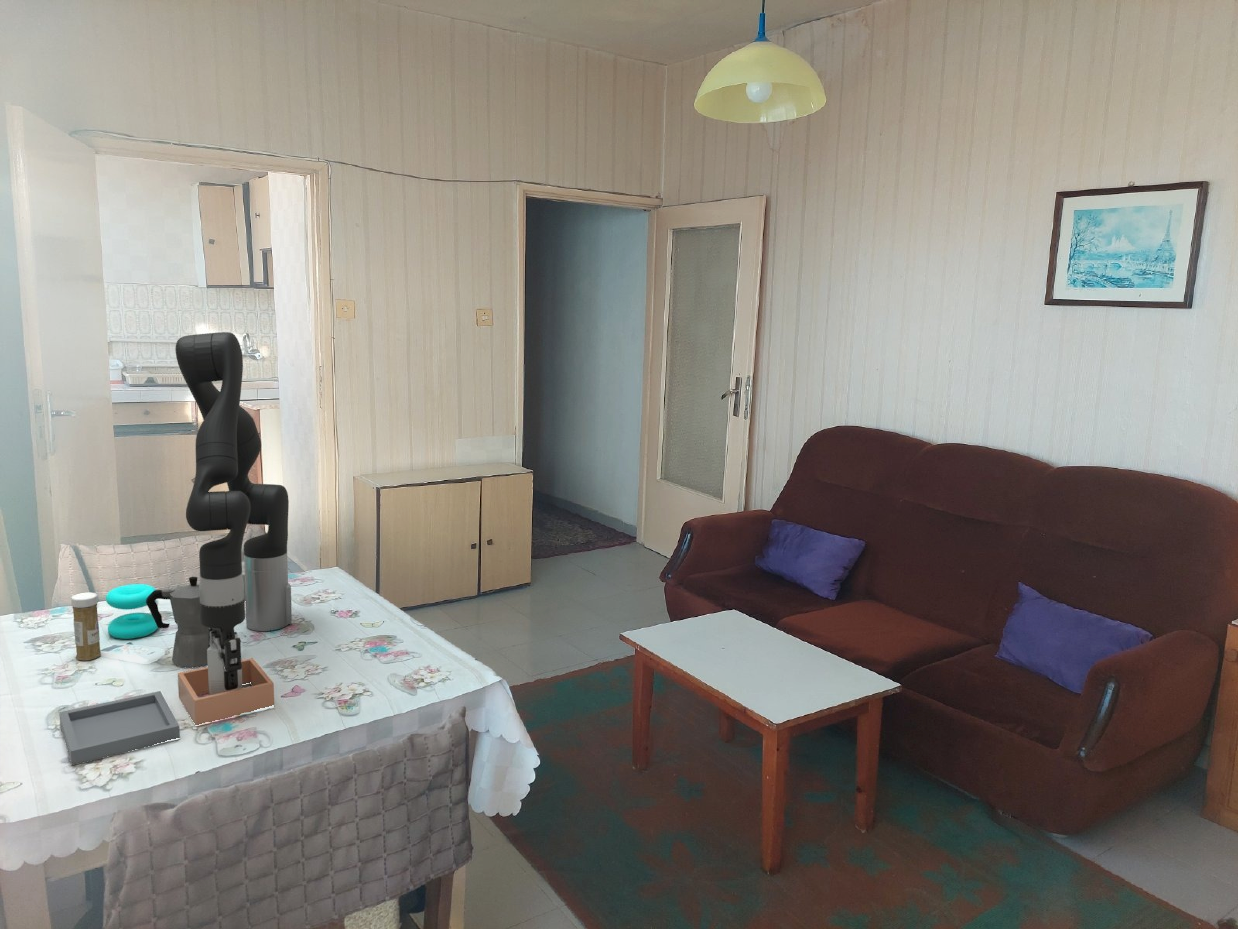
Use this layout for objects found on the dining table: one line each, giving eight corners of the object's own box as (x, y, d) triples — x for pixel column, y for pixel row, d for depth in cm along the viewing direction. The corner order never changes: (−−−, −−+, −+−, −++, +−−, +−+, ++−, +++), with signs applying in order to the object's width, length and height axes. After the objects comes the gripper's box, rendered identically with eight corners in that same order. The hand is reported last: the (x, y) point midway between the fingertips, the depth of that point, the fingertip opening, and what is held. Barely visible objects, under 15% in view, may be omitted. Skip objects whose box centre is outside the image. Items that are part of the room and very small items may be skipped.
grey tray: (160, 703, 164) (160, 691, 164) (180, 739, 152) (179, 726, 152) (60, 725, 155) (59, 712, 154) (71, 765, 142) (70, 751, 142)
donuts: (132, 579, 201) (167, 586, 198) (135, 621, 203) (169, 628, 200) (94, 593, 192) (129, 599, 188) (97, 636, 193) (132, 644, 190)
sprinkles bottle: (102, 659, 182) (97, 597, 180) (76, 663, 180) (71, 600, 177) (100, 651, 186) (96, 590, 183) (75, 655, 183) (70, 593, 181)
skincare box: (220, 695, 169) (218, 636, 166) (243, 696, 169) (241, 637, 167) (208, 710, 163) (205, 649, 160) (232, 710, 163) (230, 649, 161)
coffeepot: (232, 647, 191) (229, 568, 187) (229, 665, 182) (226, 582, 179) (152, 654, 185) (148, 572, 182) (145, 672, 177) (141, 587, 173)
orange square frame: (253, 681, 175) (252, 657, 174) (274, 708, 165) (273, 683, 164) (178, 697, 167) (177, 673, 166) (195, 727, 156) (194, 700, 155)
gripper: (254, 605, 159) (257, 690, 162) (233, 583, 170) (236, 663, 173) (209, 613, 154) (213, 700, 157) (191, 589, 165) (194, 671, 168)
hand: (225, 680), depth 165 cm, fingers open, 7 cm apart
